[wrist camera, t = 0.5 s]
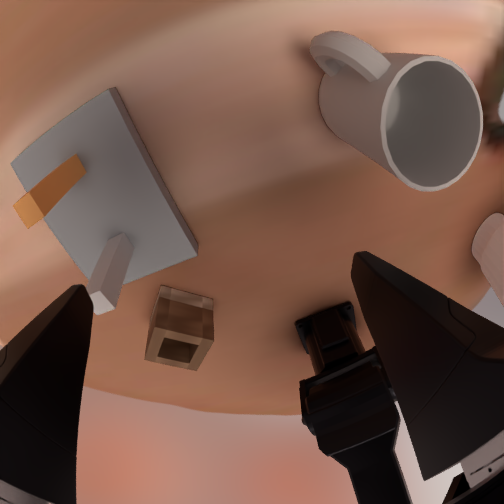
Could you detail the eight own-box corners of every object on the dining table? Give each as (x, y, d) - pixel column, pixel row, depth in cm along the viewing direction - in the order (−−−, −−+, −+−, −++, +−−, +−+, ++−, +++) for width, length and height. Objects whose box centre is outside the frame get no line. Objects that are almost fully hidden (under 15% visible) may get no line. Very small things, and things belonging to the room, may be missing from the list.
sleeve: (212, 299, 28) (214, 340, 23) (196, 331, 30) (196, 370, 26) (161, 285, 26) (154, 326, 22) (150, 319, 28) (144, 359, 24)
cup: (364, 161, 21) (430, 215, 14) (263, 80, 17) (300, 88, 10) (415, 98, 18) (497, 128, 11) (325, 9, 14) (395, -17, 7)
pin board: (198, 244, 24) (195, 318, 17) (104, 283, 25) (81, 351, 18) (115, 87, 16) (61, 101, 9) (19, 157, 17) (-41, 202, 10)
